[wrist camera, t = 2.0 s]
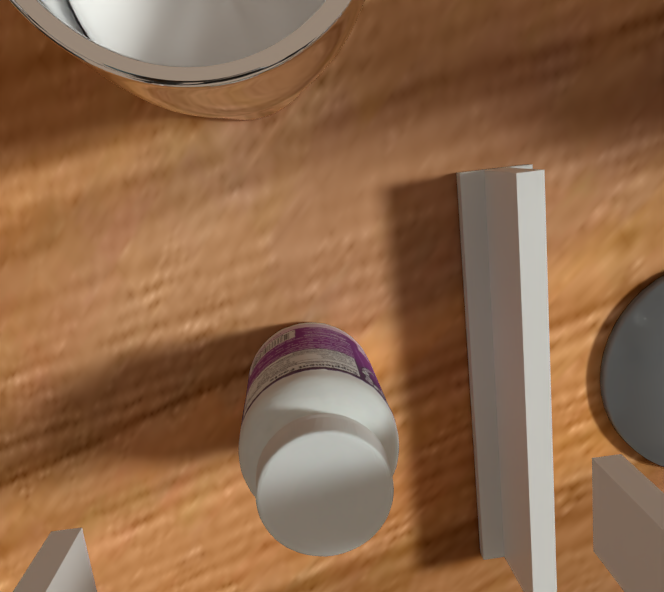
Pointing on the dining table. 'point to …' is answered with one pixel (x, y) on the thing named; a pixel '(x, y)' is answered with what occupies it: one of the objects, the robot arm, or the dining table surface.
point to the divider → (510, 367)
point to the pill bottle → (317, 441)
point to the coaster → (637, 373)
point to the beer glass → (201, 48)
